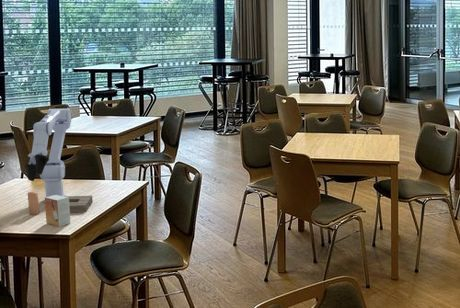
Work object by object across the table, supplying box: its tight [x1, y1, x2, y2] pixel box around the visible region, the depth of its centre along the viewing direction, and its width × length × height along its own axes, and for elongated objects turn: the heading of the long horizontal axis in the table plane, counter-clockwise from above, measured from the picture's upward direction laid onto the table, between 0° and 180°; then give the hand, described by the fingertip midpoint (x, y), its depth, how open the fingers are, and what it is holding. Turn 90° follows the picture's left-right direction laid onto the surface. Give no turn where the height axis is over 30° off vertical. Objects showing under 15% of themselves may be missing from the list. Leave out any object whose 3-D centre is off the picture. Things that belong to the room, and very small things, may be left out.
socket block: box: [63, 195, 94, 214], centre depth 272 cm, size 16×14×3 cm
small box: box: [44, 195, 71, 227], centre depth 249 cm, size 8×6×10 cm
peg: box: [27, 191, 41, 216], centre depth 263 cm, size 4×4×9 cm
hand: (34, 177), depth 262 cm, fingers open, 7 cm apart
